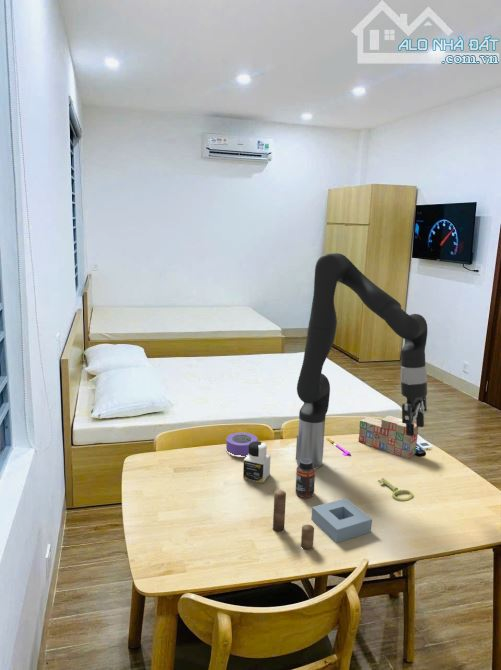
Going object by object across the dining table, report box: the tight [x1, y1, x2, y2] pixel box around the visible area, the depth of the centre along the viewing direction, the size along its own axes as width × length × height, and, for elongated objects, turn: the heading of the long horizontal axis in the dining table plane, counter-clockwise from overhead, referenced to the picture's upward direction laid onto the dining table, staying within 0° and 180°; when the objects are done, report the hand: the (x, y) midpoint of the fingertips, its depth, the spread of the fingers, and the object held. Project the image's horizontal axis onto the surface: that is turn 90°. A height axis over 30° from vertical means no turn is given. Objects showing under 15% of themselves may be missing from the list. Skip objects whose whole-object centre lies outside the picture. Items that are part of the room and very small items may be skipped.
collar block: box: [311, 497, 373, 544], centre depth 141 cm, size 12×12×4 cm
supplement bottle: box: [295, 458, 316, 498], centre depth 157 cm, size 6×6×11 cm
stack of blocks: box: [358, 415, 419, 460], centre depth 192 cm, size 21×6×12 cm, turn 49°
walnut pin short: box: [300, 524, 315, 551], centre depth 131 cm, size 3×3×6 cm
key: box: [377, 477, 414, 502], centre depth 160 cm, size 7×12×2 cm, turn 44°
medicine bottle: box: [242, 440, 271, 484], centre depth 167 cm, size 7×7×12 cm
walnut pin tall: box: [272, 489, 287, 533], centre depth 138 cm, size 3×3×11 cm
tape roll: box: [225, 432, 258, 456], centre depth 187 cm, size 12×12×5 cm
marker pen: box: [326, 437, 352, 457], centre depth 192 cm, size 3×1×16 cm
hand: (415, 430), depth 153 cm, fingers open, 8 cm apart
